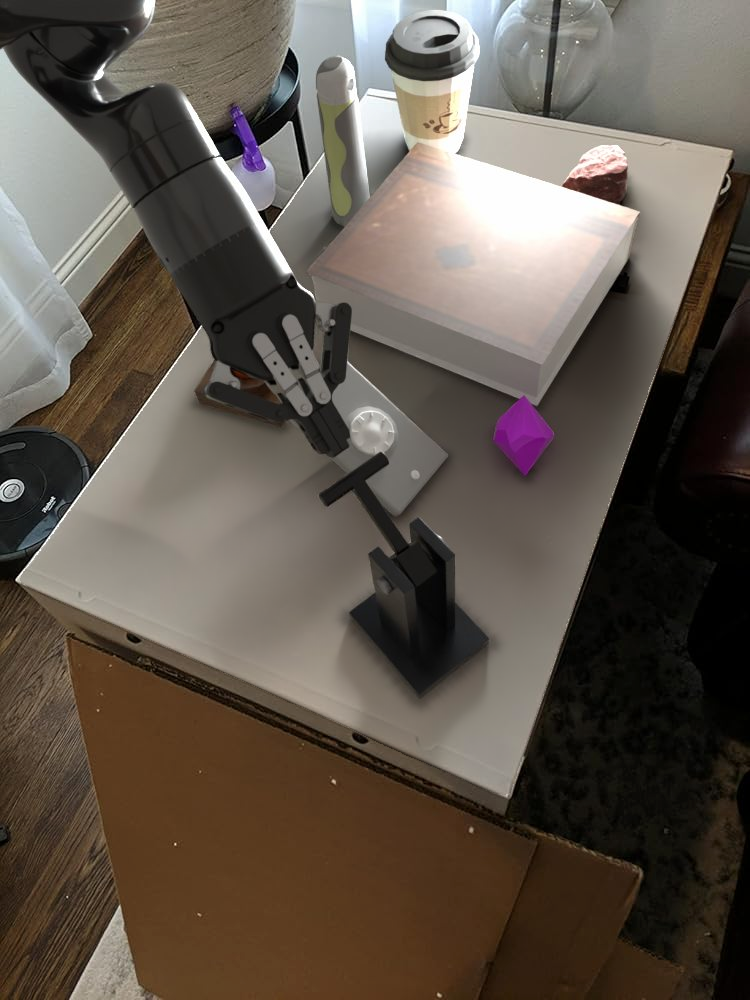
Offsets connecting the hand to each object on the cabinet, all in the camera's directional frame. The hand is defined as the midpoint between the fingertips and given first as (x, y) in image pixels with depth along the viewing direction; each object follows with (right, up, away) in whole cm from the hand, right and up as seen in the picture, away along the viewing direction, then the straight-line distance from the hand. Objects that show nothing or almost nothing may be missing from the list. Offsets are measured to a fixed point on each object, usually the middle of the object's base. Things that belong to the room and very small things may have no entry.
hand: (338, 451), depth 65 cm
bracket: (+7, -15, +12) cm, 21 cm away
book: (+14, +21, +34) cm, 42 cm away
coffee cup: (+11, +43, +48) cm, 65 cm away
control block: (-10, +9, +29) cm, 32 cm away
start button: (-11, +10, +26) cm, 30 cm away
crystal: (+18, +1, +22) cm, 28 cm away
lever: (+3, -6, +2) cm, 7 cm away
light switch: (+2, 0, +23) cm, 23 cm away
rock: (+29, +34, +41) cm, 60 cm away
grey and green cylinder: (0, +32, +42) cm, 53 cm away
